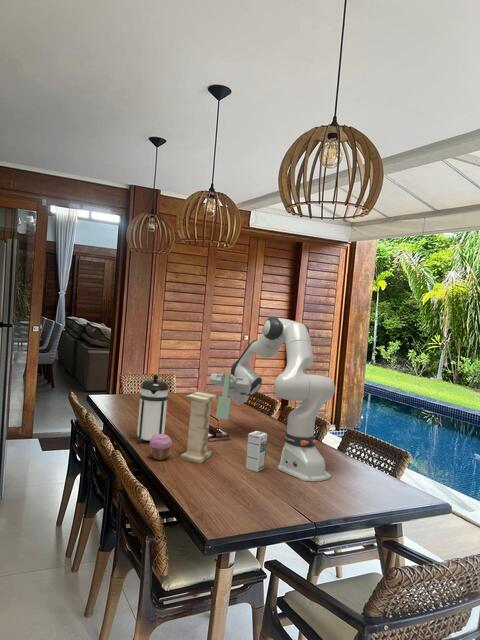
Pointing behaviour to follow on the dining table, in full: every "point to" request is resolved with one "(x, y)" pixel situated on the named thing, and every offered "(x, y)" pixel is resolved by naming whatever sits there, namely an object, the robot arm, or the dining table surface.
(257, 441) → the syrup box
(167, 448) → the cupcake
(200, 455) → the stand
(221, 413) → the spatula
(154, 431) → the coffee press
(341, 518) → the dining table surface
